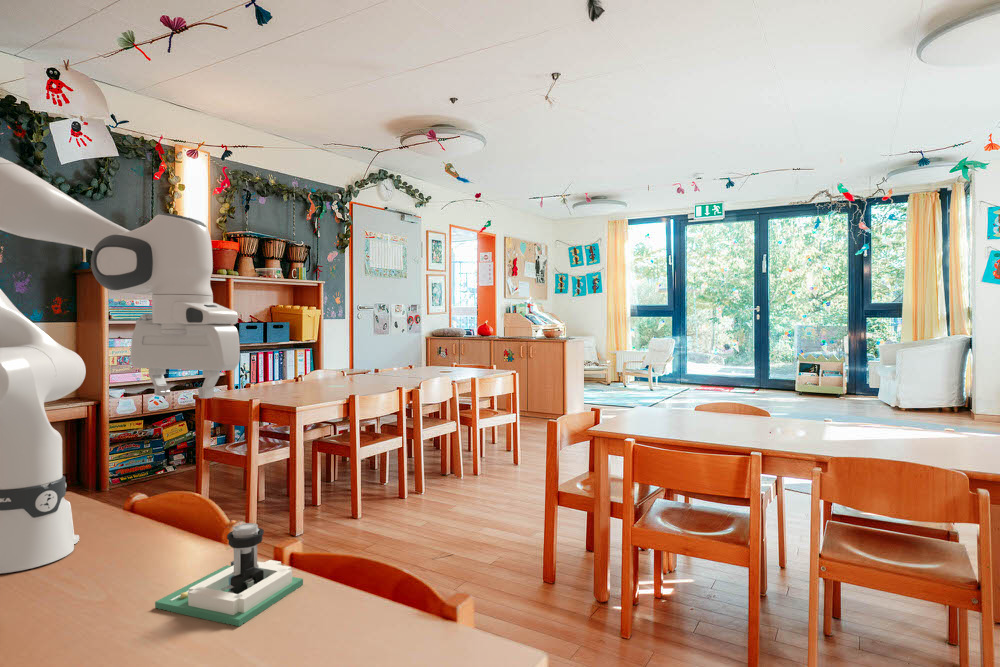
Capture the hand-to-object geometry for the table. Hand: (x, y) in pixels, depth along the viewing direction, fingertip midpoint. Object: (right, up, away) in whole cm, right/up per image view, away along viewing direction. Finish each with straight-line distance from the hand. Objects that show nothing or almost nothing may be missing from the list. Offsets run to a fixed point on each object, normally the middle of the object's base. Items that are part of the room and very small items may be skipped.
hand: (183, 396), depth 95 cm
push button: (+12, -30, -5) cm, 33 cm away
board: (+10, -31, -4) cm, 33 cm away
